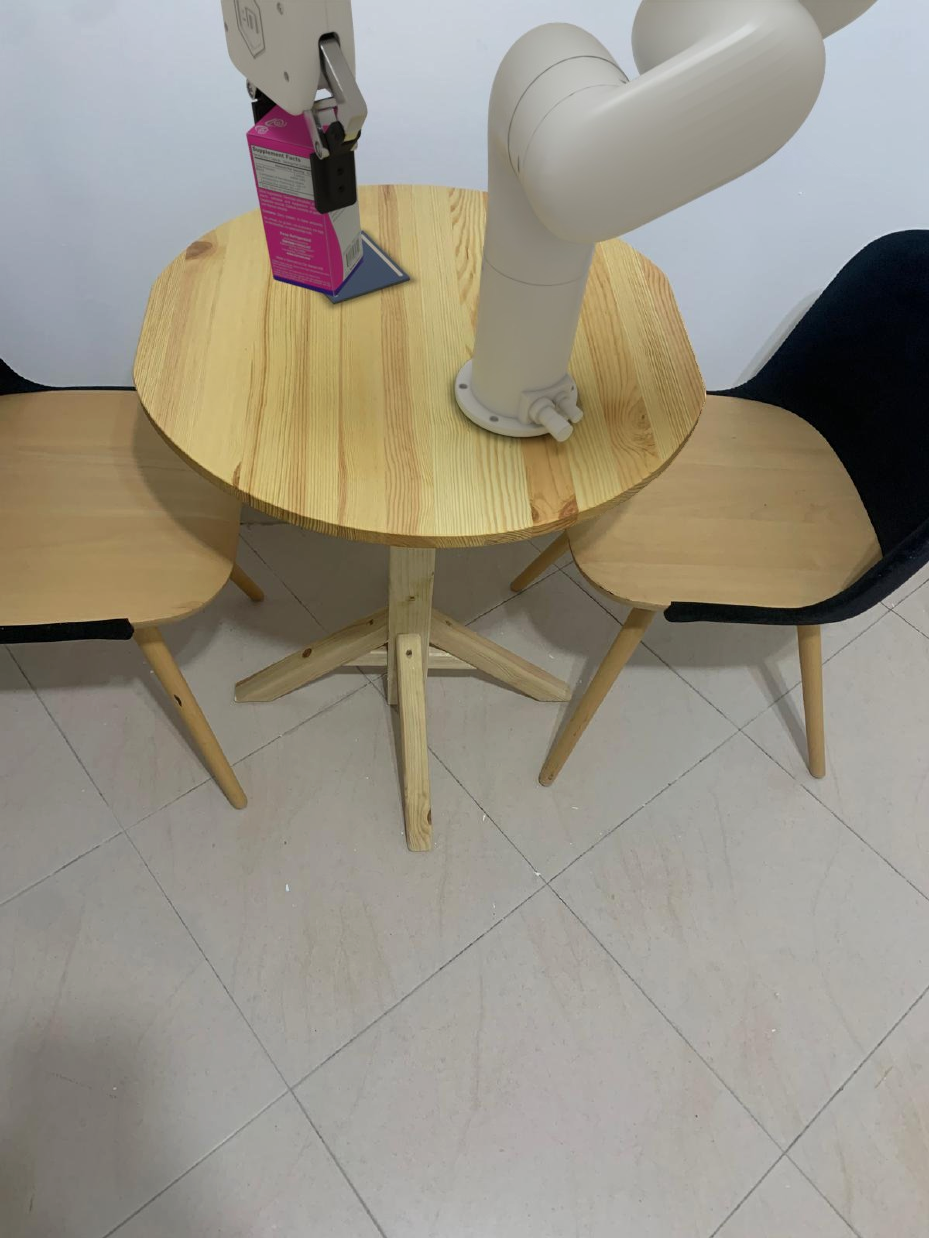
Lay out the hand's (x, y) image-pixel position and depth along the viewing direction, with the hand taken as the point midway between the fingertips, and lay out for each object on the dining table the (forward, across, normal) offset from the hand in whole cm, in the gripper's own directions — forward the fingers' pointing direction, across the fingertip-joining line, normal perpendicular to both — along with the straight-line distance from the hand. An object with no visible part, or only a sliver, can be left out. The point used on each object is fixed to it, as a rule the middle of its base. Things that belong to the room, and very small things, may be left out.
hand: (307, 180), depth 58 cm
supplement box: (+8, 0, 0) cm, 8 cm away
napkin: (+23, -21, +14) cm, 34 cm away
